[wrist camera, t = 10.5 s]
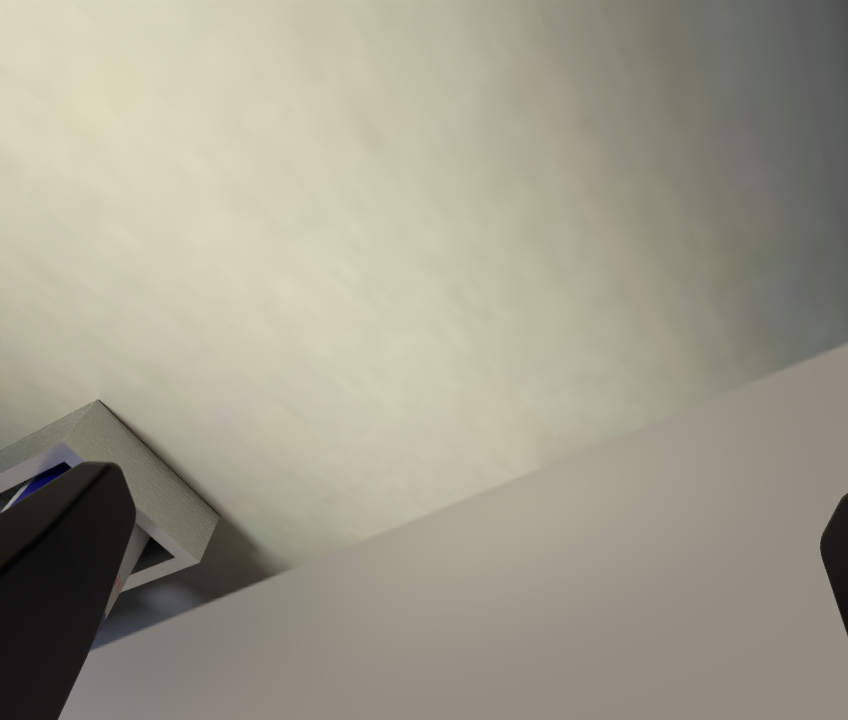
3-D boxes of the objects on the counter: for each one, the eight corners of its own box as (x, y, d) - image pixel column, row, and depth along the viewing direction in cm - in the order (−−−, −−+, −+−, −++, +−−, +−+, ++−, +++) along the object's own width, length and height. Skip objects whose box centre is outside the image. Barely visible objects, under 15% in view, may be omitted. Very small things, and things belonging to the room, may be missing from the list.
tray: (97, 399, 24) (62, 441, 22) (219, 516, 28) (199, 562, 26) (-113, 510, 29) (-159, 554, 27) (14, 599, 32) (-17, 644, 30)
